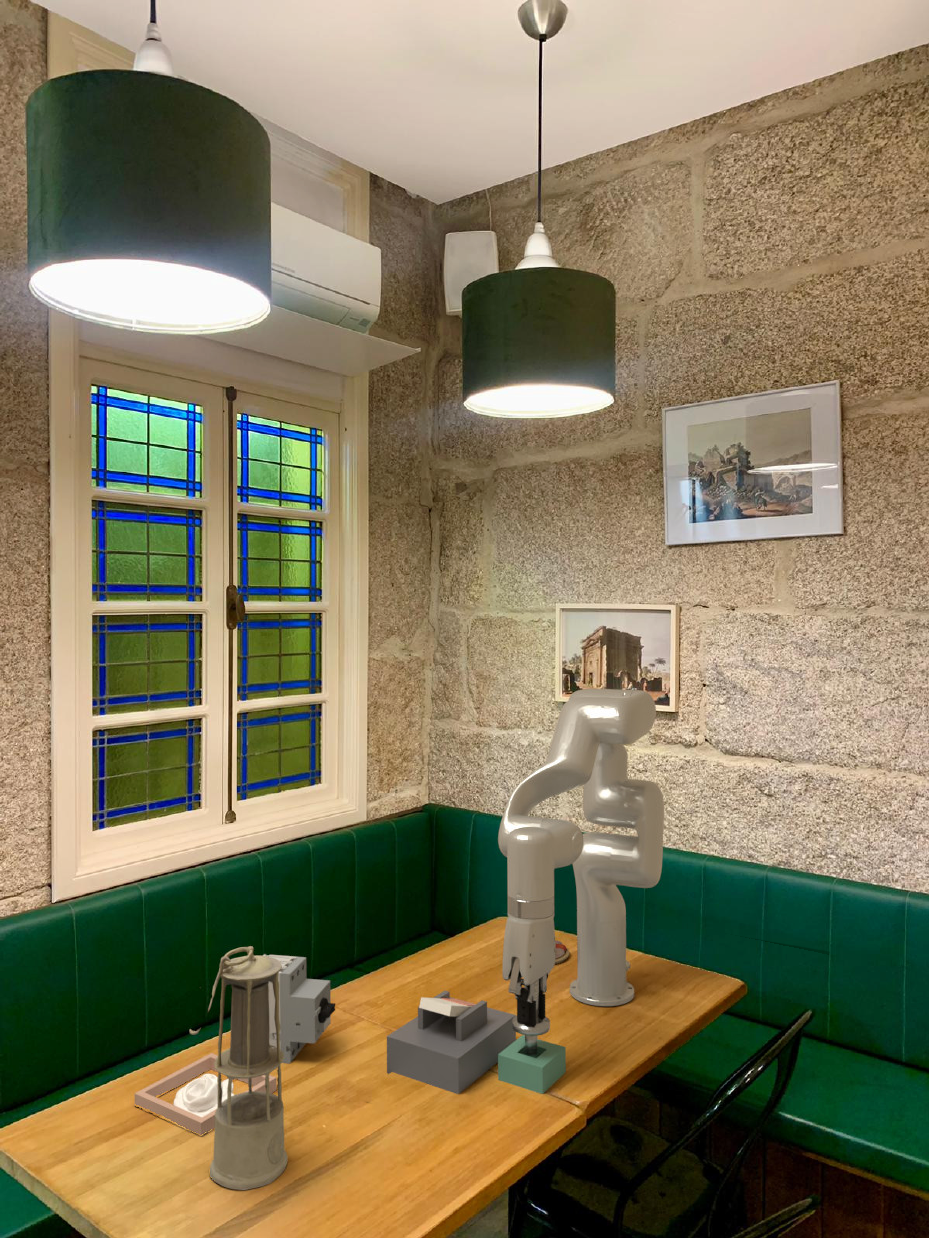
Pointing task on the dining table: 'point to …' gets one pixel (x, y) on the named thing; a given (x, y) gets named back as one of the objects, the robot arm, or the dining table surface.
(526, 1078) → the stylus holder
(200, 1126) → the pink square frame
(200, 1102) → the rose
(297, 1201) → the dining table surface
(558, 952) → the toy sandwich meal
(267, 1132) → the lamp
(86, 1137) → the dining table surface
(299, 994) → the circuit breaker
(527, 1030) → the metal knob
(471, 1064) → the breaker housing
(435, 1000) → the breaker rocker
